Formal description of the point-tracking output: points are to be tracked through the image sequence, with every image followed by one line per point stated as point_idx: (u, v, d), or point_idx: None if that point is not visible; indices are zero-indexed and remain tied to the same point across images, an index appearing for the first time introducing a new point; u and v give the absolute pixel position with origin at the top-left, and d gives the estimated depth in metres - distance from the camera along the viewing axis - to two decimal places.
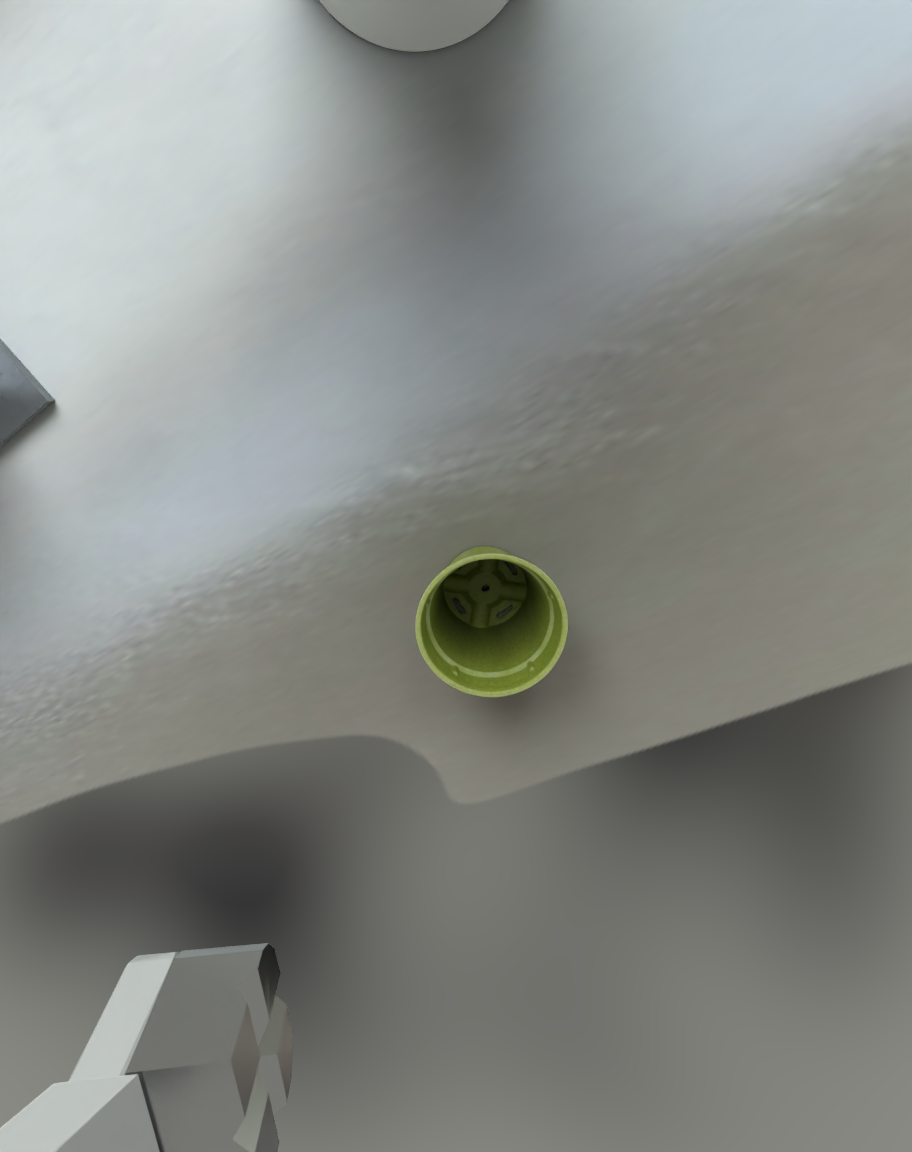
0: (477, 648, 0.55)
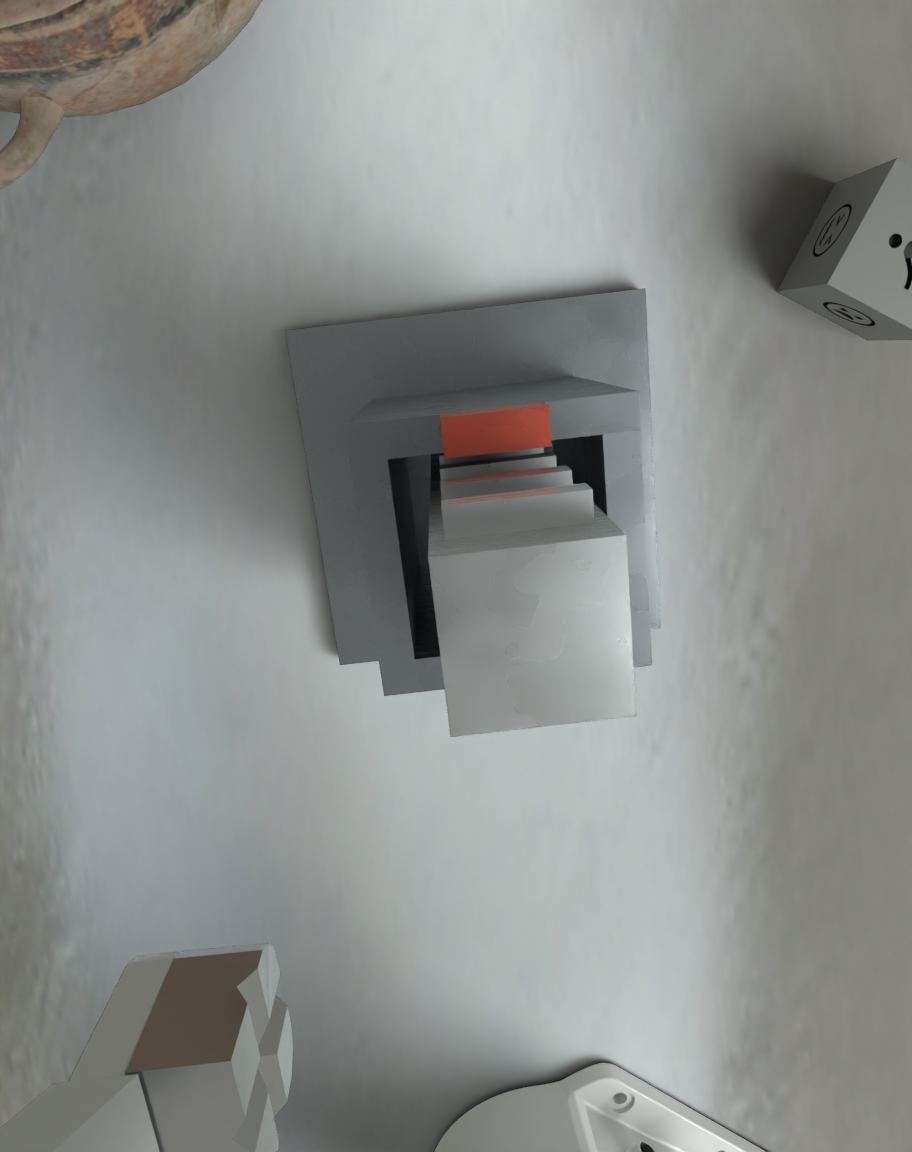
0: None
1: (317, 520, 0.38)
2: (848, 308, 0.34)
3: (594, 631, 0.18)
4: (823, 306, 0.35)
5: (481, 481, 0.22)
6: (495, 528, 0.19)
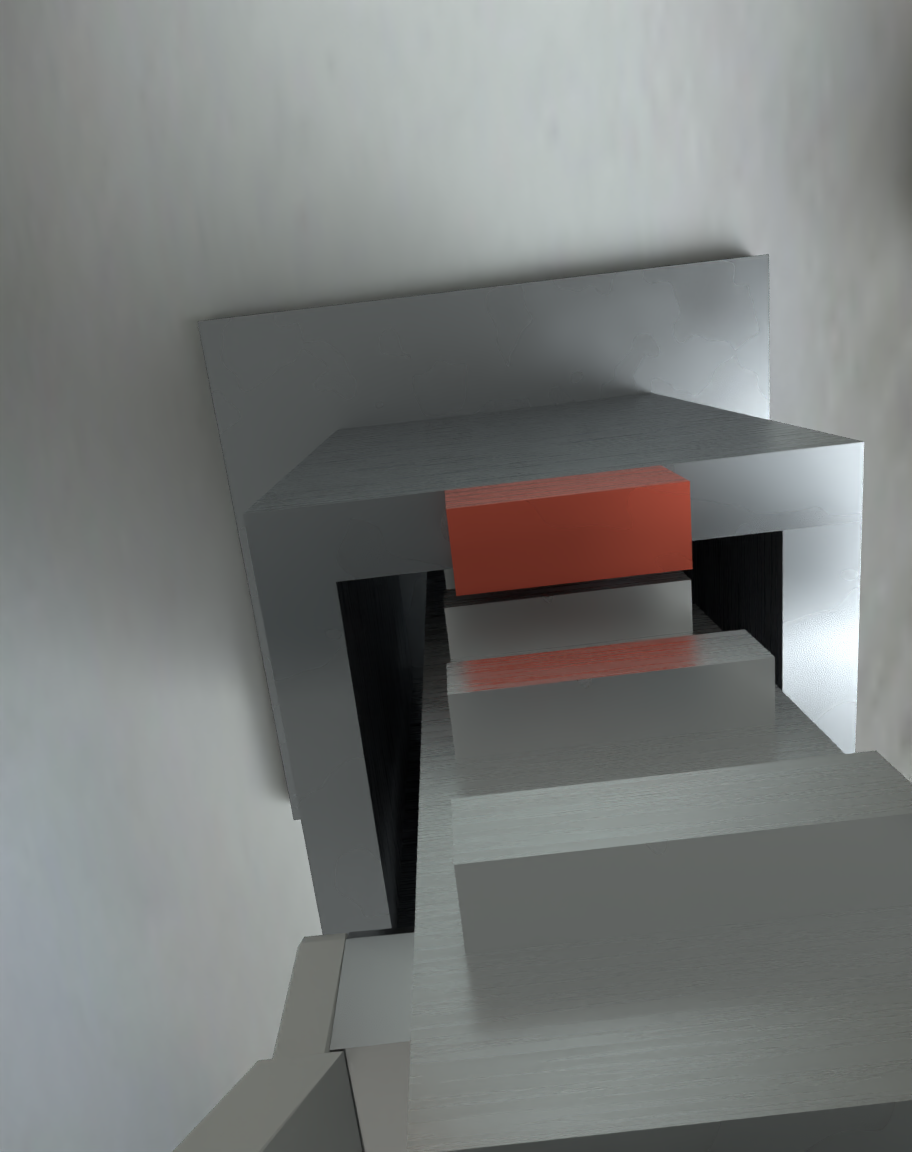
0: None
1: (255, 612, 0.25)
2: None
3: None
4: None
5: (549, 685, 0.09)
6: (623, 920, 0.06)
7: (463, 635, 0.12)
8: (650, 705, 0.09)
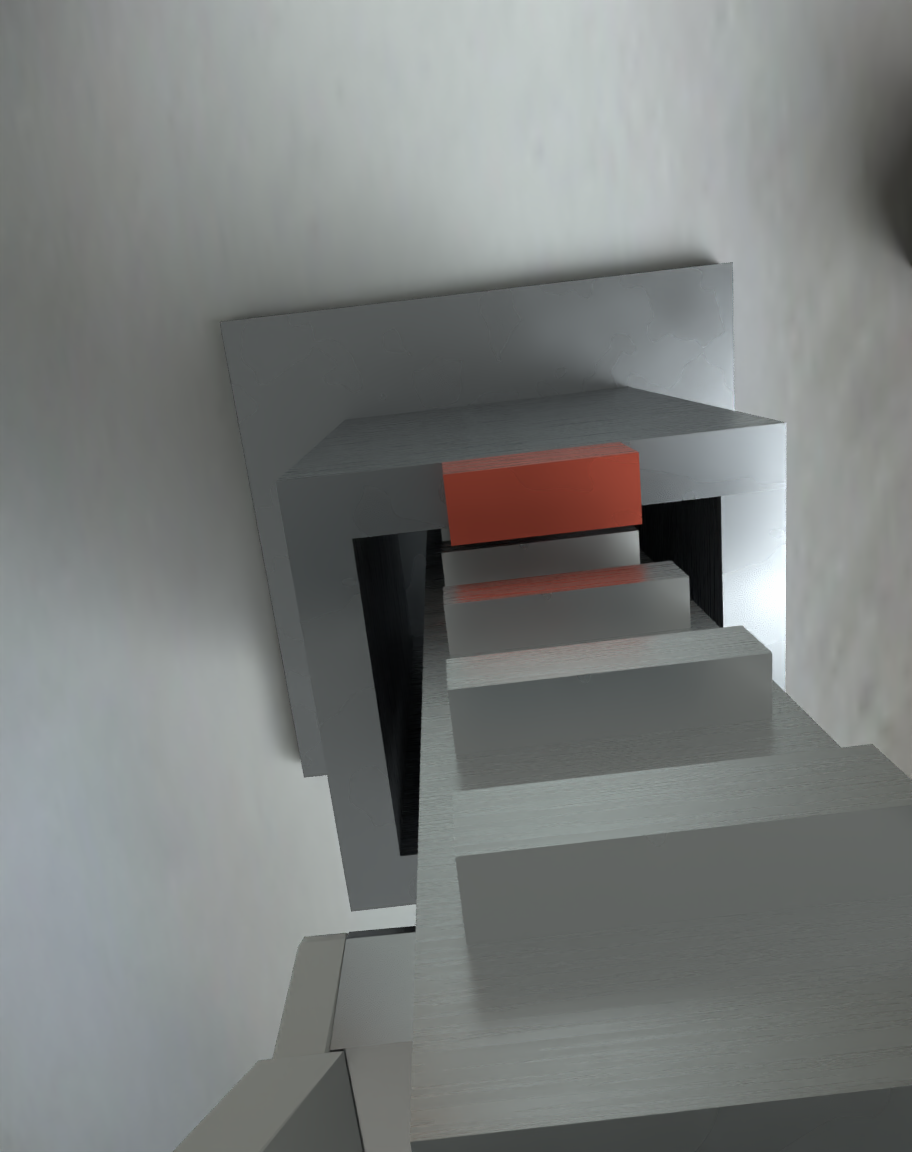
0: None
1: (270, 585, 0.27)
2: None
3: None
4: None
5: (549, 681, 0.09)
6: (622, 911, 0.06)
7: (462, 632, 0.12)
8: (649, 700, 0.09)
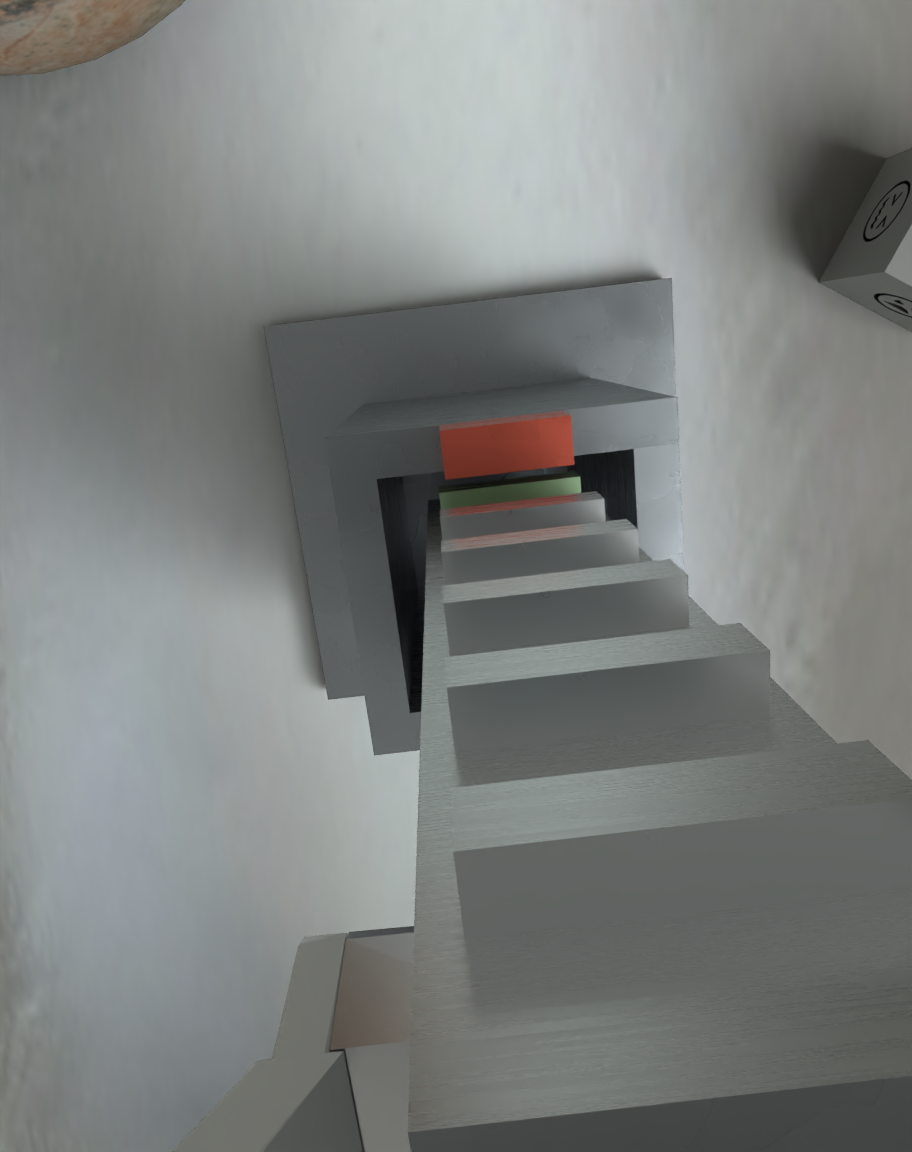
0: None
1: (301, 539, 0.34)
2: (905, 300, 0.30)
3: None
4: (873, 298, 0.31)
5: (547, 678, 0.09)
6: (619, 906, 0.06)
7: (462, 630, 0.12)
8: (646, 698, 0.09)
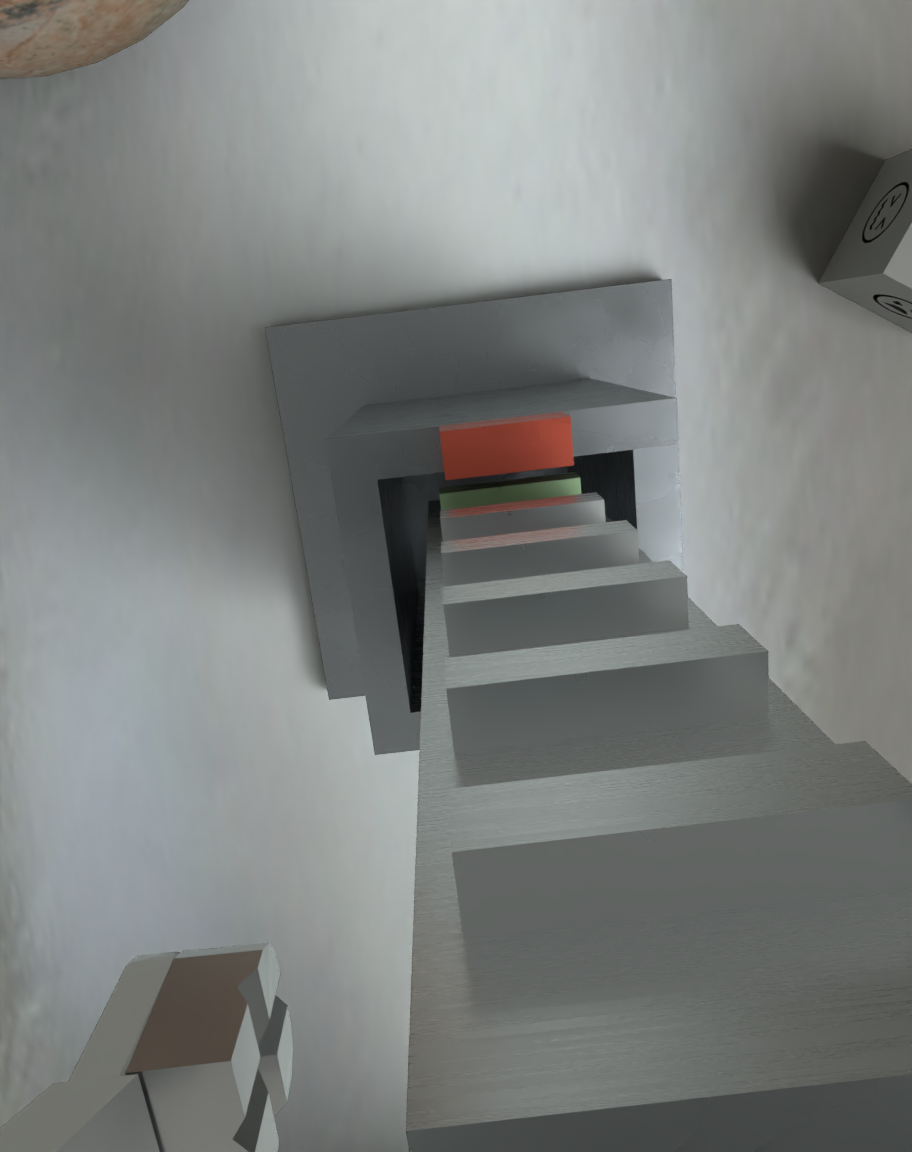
0: None
1: (302, 540, 0.34)
2: (903, 301, 0.30)
3: None
4: (872, 299, 0.31)
5: (546, 679, 0.09)
6: (617, 906, 0.06)
7: (462, 631, 0.12)
8: (645, 699, 0.09)
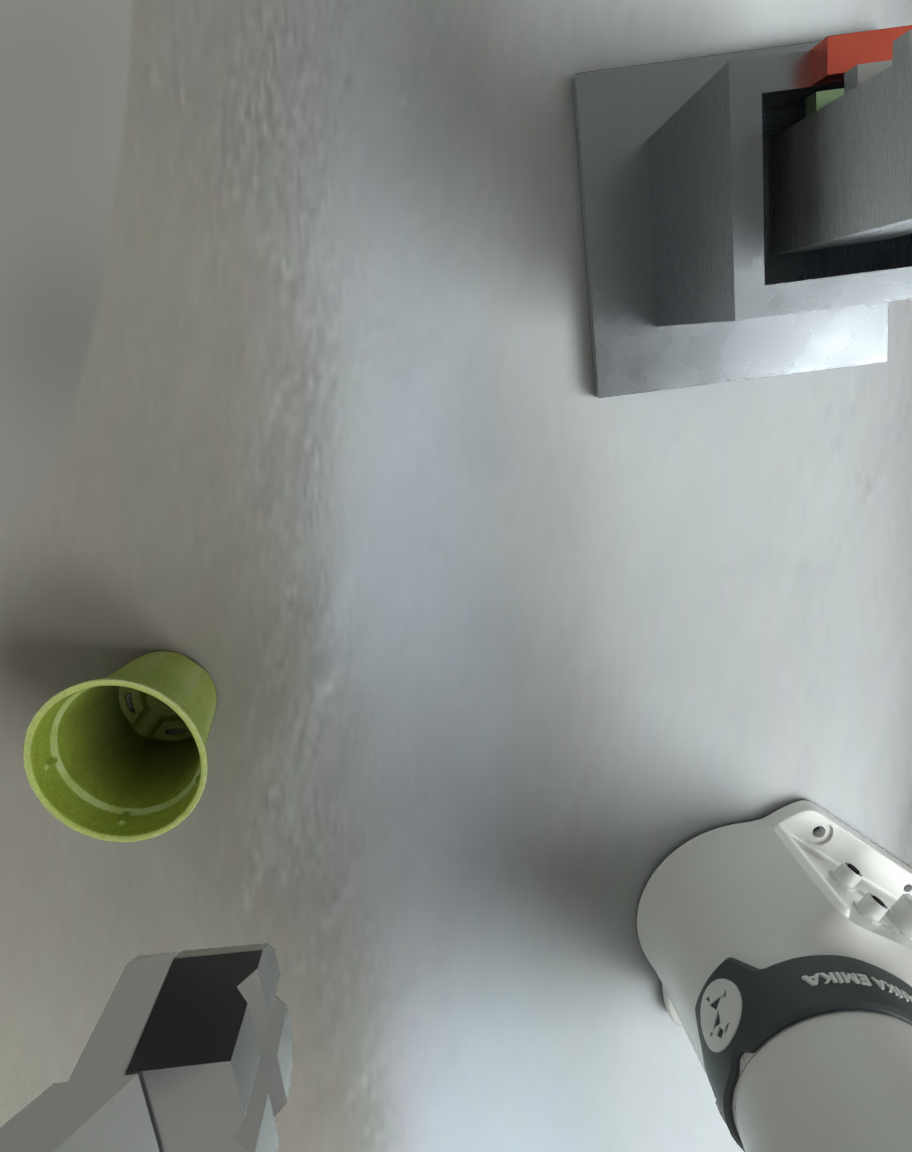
0: (99, 686, 0.46)
1: (589, 256, 0.43)
2: None
3: None
4: None
5: None
6: None
7: None
8: None
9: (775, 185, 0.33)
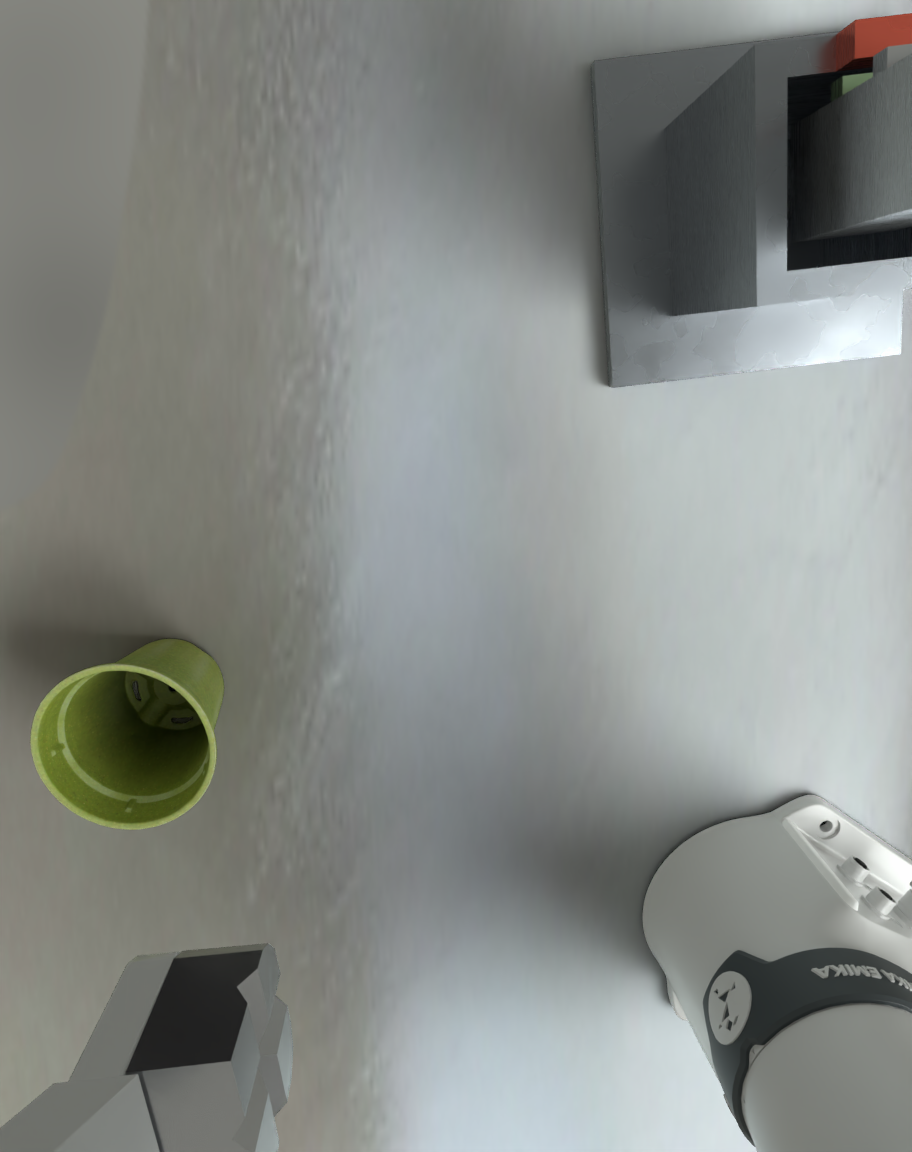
0: (106, 672, 0.46)
1: (605, 245, 0.43)
2: None
3: None
4: None
5: None
6: None
7: None
8: None
9: (798, 171, 0.32)
